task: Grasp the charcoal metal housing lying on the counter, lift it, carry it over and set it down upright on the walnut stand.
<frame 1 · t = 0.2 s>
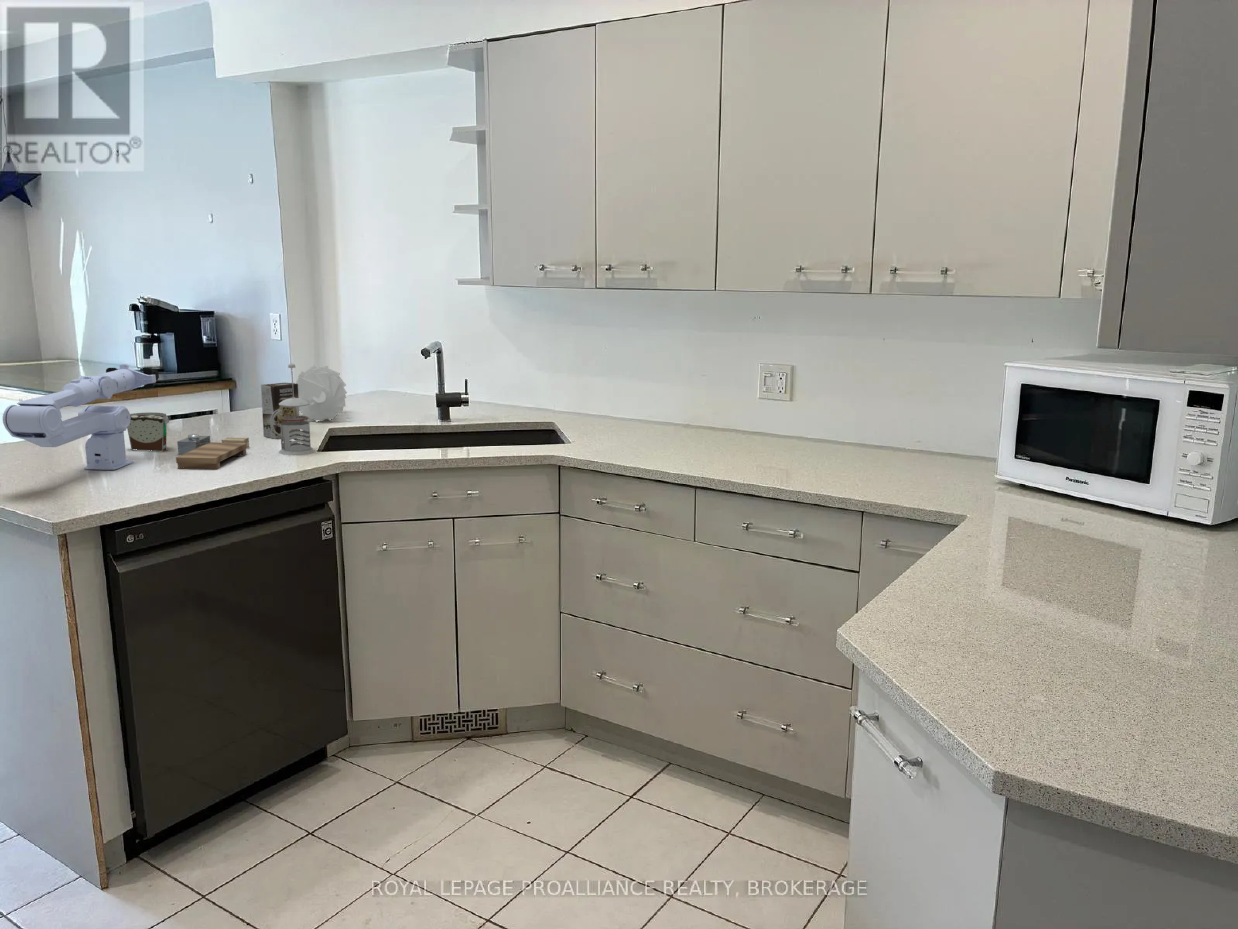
hand: (143, 374, 247), 21 cm above the worktop, tool horizontal, fingers open, 7 cm apart
spiral staircase: (321, 418, 310), on the worktop
beech offcut: (236, 449, 258), on the worktop
coffee box: (282, 436, 277), on the worktop
housing: (195, 452, 252), on the worktop
stand: (213, 460, 241), on the worktop
food container: (153, 449, 255), on the worktop
french press: (293, 452, 255), on the worktop
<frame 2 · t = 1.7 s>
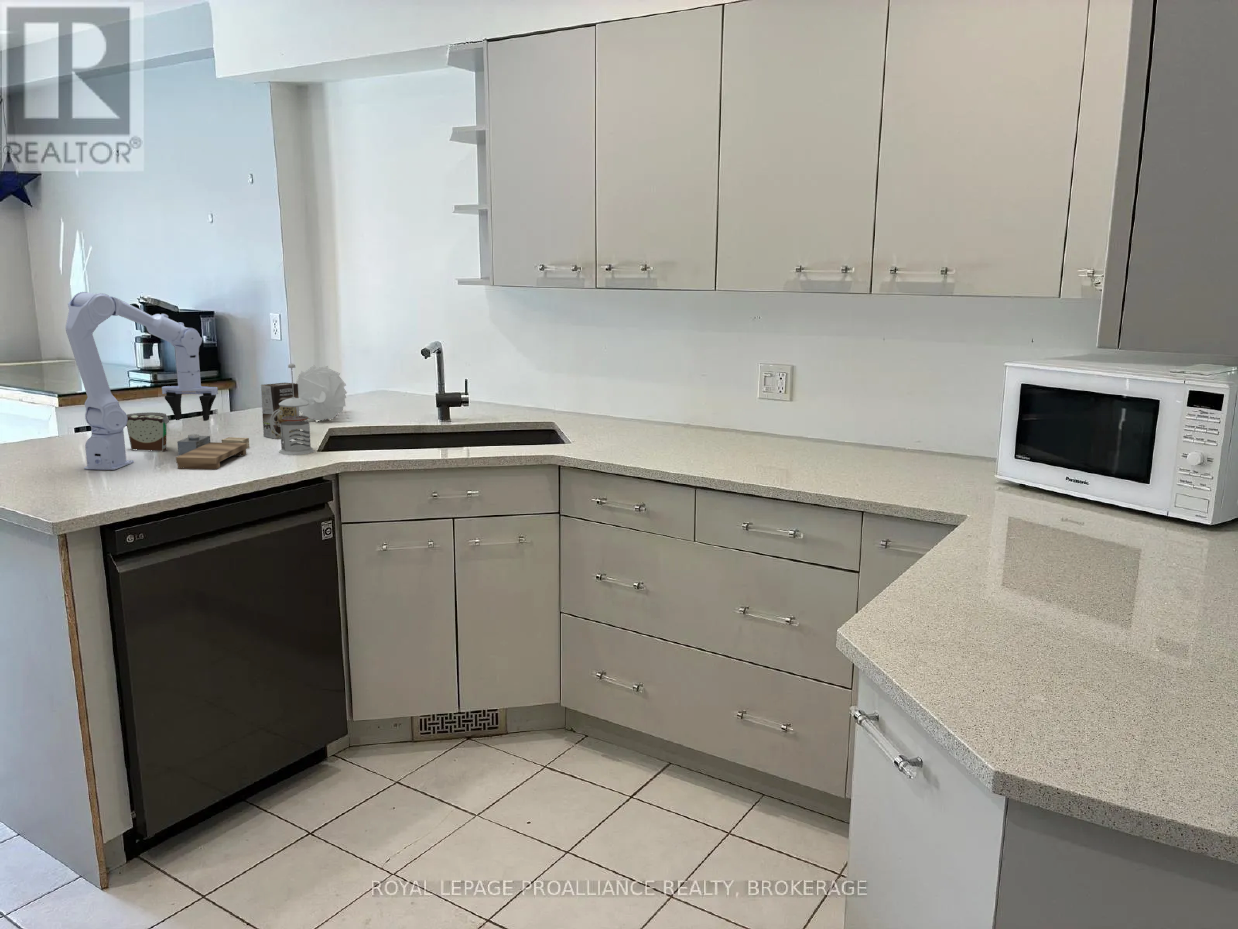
hand: (192, 420, 250), 9 cm above the worktop, tool pointing down, fingers open, 7 cm apart
nothing on the worktop moved.
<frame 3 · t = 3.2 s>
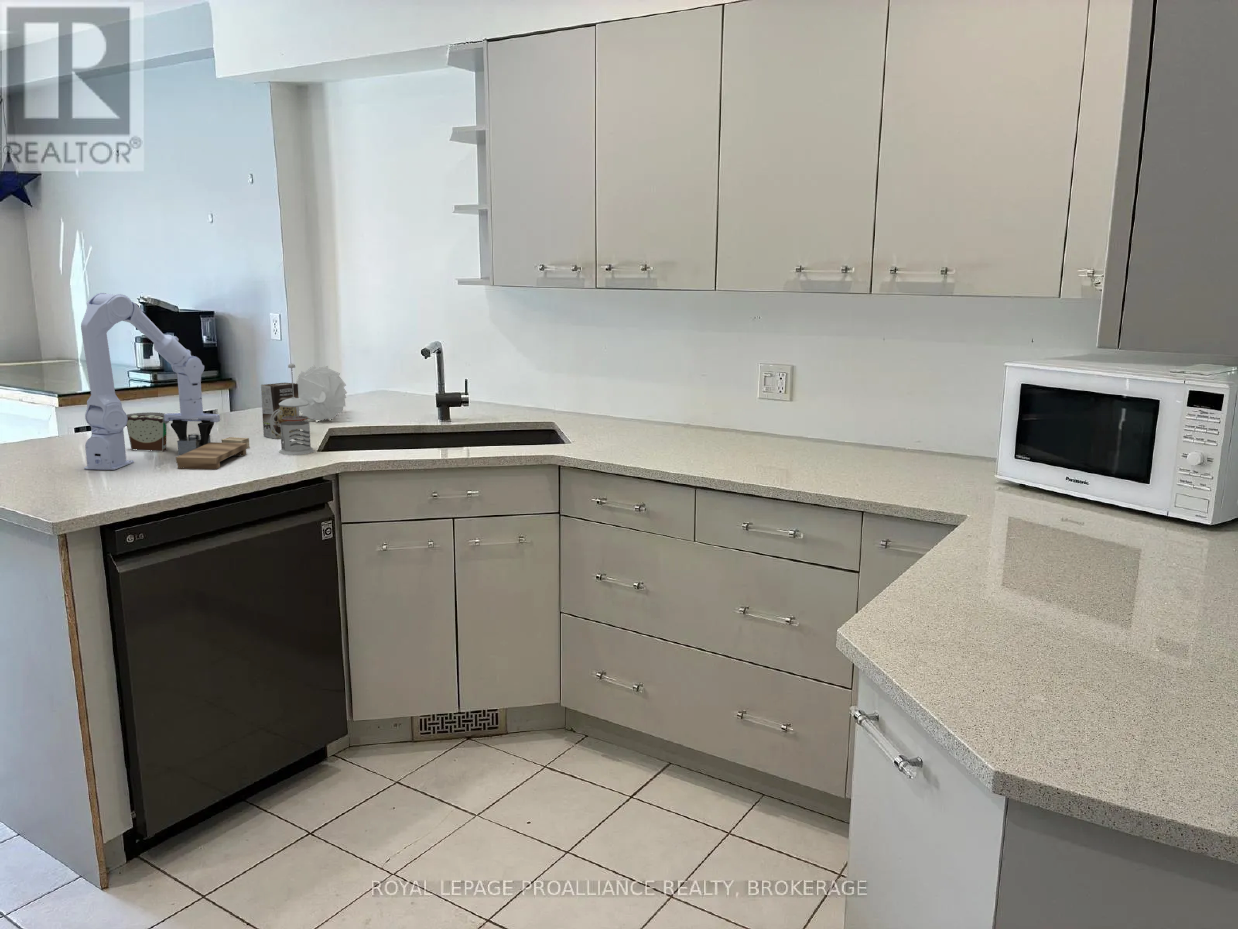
hand: (194, 446, 251), 1 cm above the worktop, tool pointing down, fingers closed on housing, 5 cm apart
housing: (195, 452, 252), on the worktop, touching gripper
everything else where it was.
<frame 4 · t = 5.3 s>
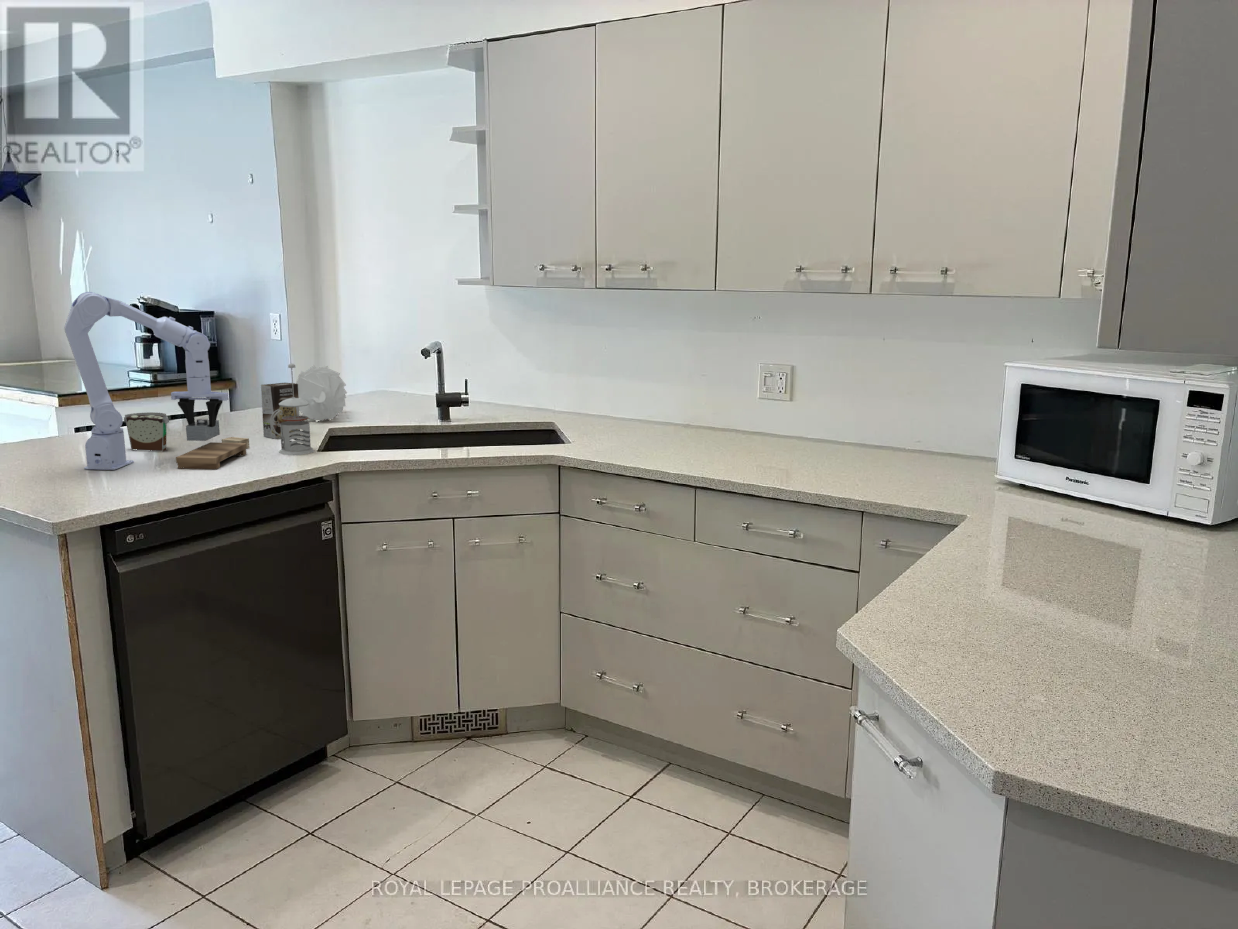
hand: (202, 426, 244), 8 cm above the worktop, tool pointing down, fingers closed on housing, 5 cm apart
housing: (203, 437, 245), point 5 cm above the worktop, touching gripper
everything else where it was.
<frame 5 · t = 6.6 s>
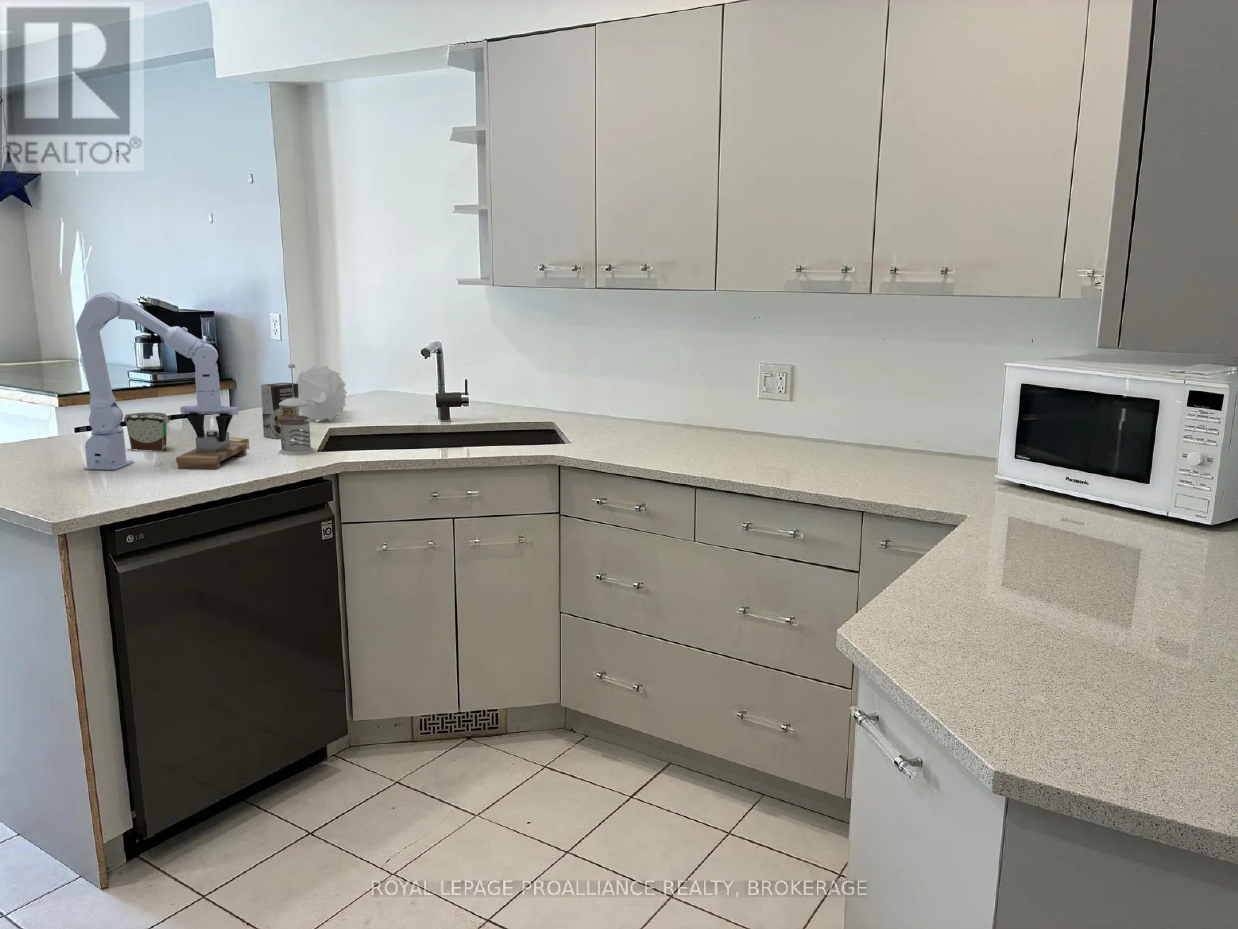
hand: (212, 441, 240), 5 cm above the worktop, tool pointing down, fingers closed on housing, 5 cm apart
housing: (213, 449, 241), point 3 cm above the worktop, touching gripper, stand
everything else where it was.
when the fingers open (5 cm above the worktop, at t = 7.2 s): housing stays where it is, resting on stand.
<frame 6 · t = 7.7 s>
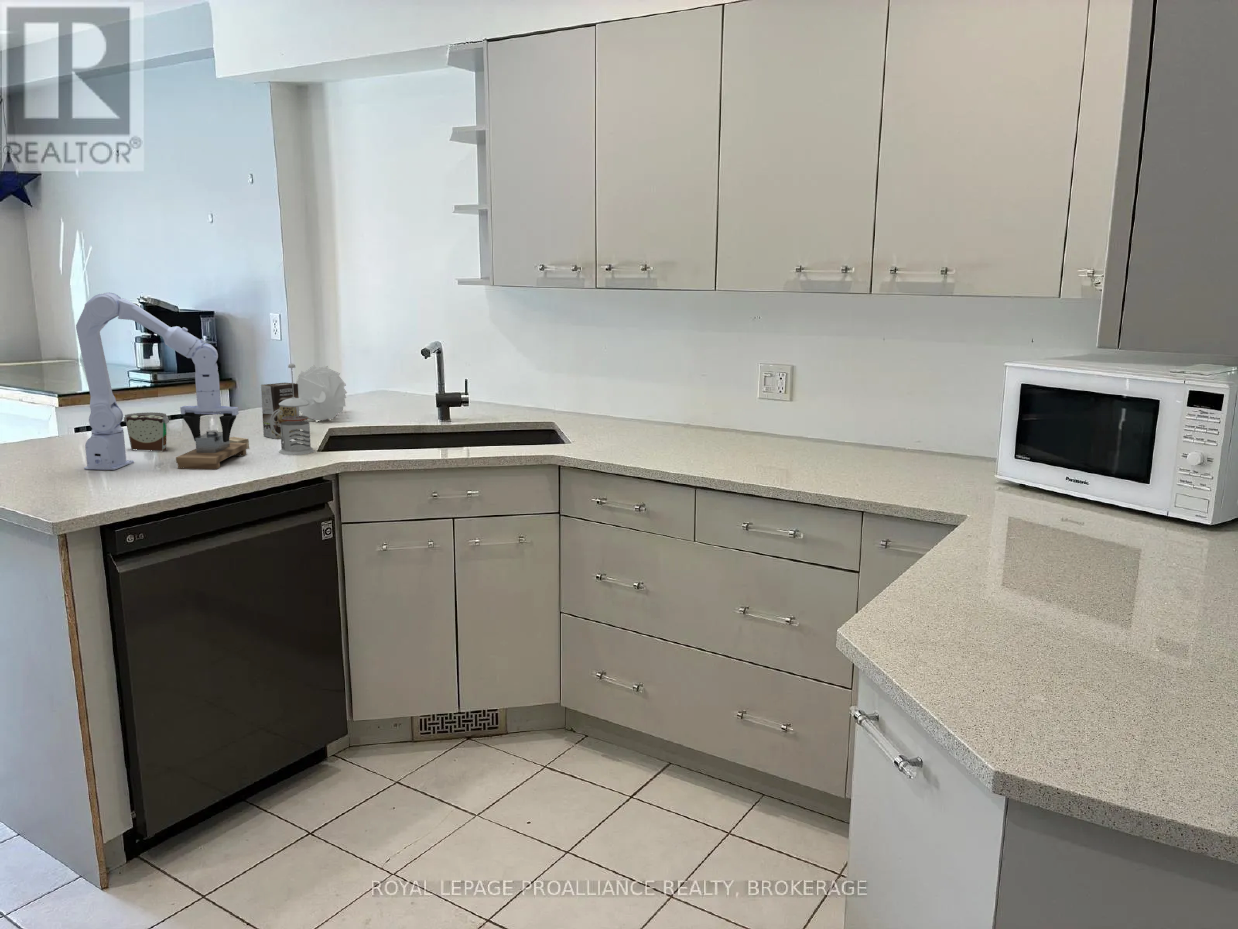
hand: (211, 441, 240), 5 cm above the worktop, tool pointing down, fingers open, 7 cm apart
housing: (213, 449, 241), point 3 cm above the worktop, touching stand
everything else where it was.
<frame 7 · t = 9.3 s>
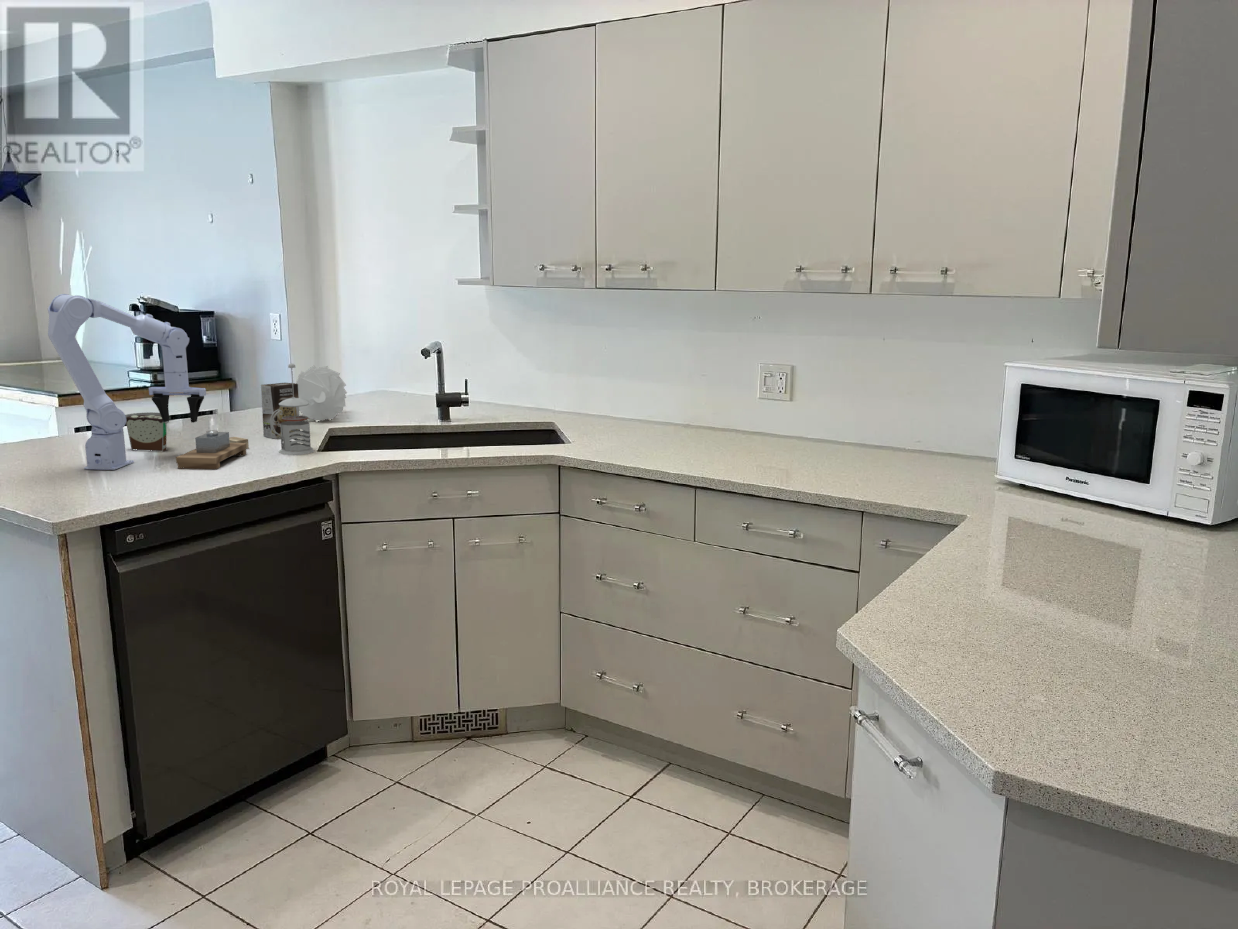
hand: (180, 421, 245), 9 cm above the worktop, tool pointing down, fingers open, 7 cm apart
nothing on the worktop moved.
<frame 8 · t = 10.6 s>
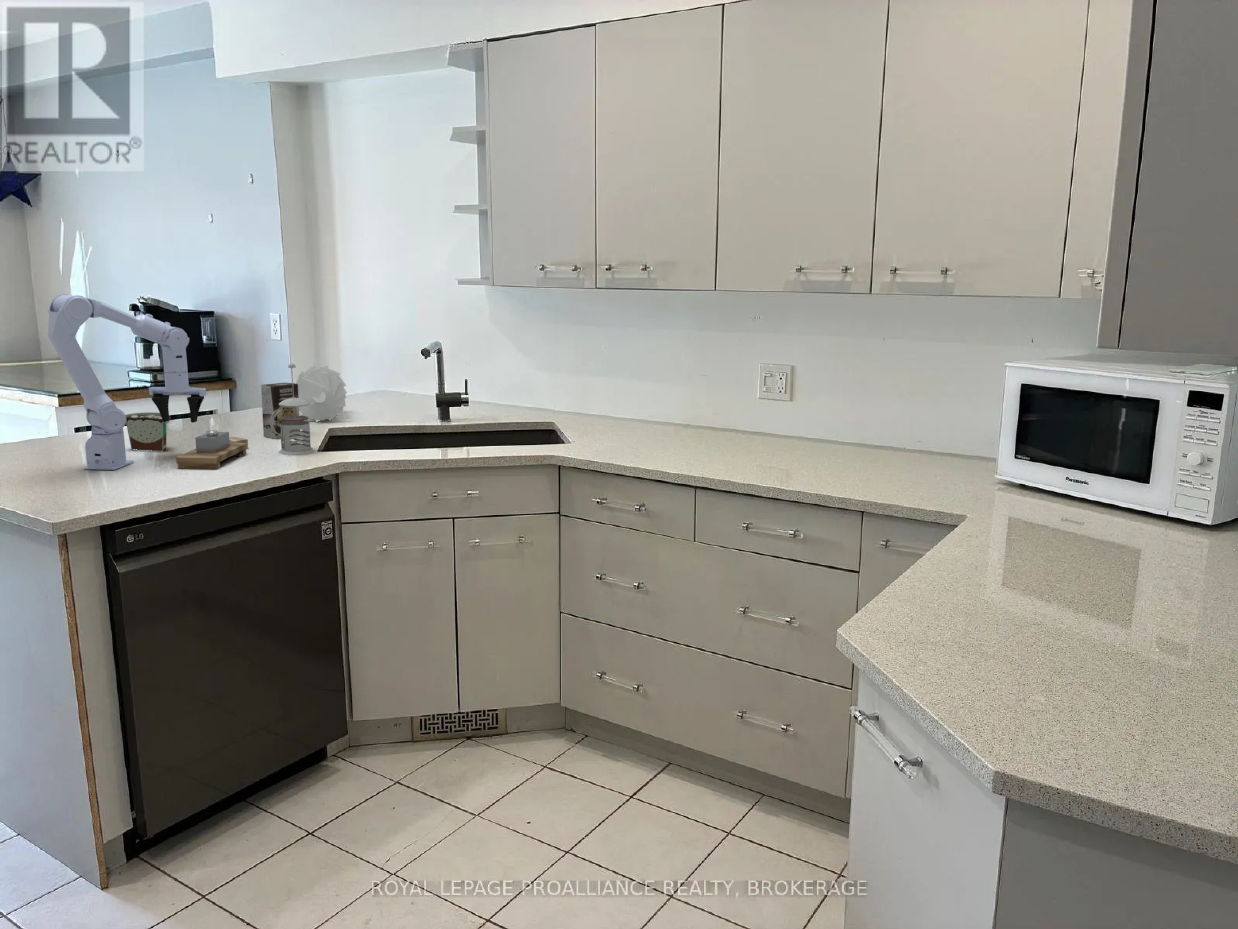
hand: (180, 421, 245), 9 cm above the worktop, tool pointing down, fingers open, 7 cm apart
at the end: housing inside the target area on the stand (0.5 cm from its centre), point 3.0 cm above the stand's base; housing tilted 0°; the gripper is holding nothing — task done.
